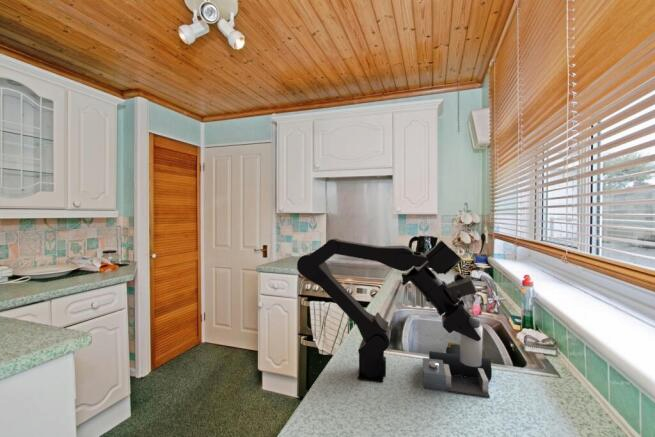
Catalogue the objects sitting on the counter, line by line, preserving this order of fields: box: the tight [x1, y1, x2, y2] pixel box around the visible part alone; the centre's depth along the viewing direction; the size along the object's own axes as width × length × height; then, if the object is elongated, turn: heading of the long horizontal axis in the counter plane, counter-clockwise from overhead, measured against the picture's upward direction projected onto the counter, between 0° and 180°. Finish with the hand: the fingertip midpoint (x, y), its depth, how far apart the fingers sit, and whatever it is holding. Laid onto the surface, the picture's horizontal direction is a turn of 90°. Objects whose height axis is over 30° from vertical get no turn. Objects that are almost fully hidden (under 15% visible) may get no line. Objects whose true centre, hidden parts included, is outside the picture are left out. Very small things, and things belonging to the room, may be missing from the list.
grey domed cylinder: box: [459, 314, 484, 367], centre depth 75 cm, size 5×5×11 cm
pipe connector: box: [428, 342, 493, 380], centre depth 86 cm, size 12×5×15 cm
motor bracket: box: [422, 357, 491, 399], centre depth 78 cm, size 15×8×5 cm, turn 75°
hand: (477, 335), depth 75 cm, fingers closed on grey domed cylinder, 5 cm apart
